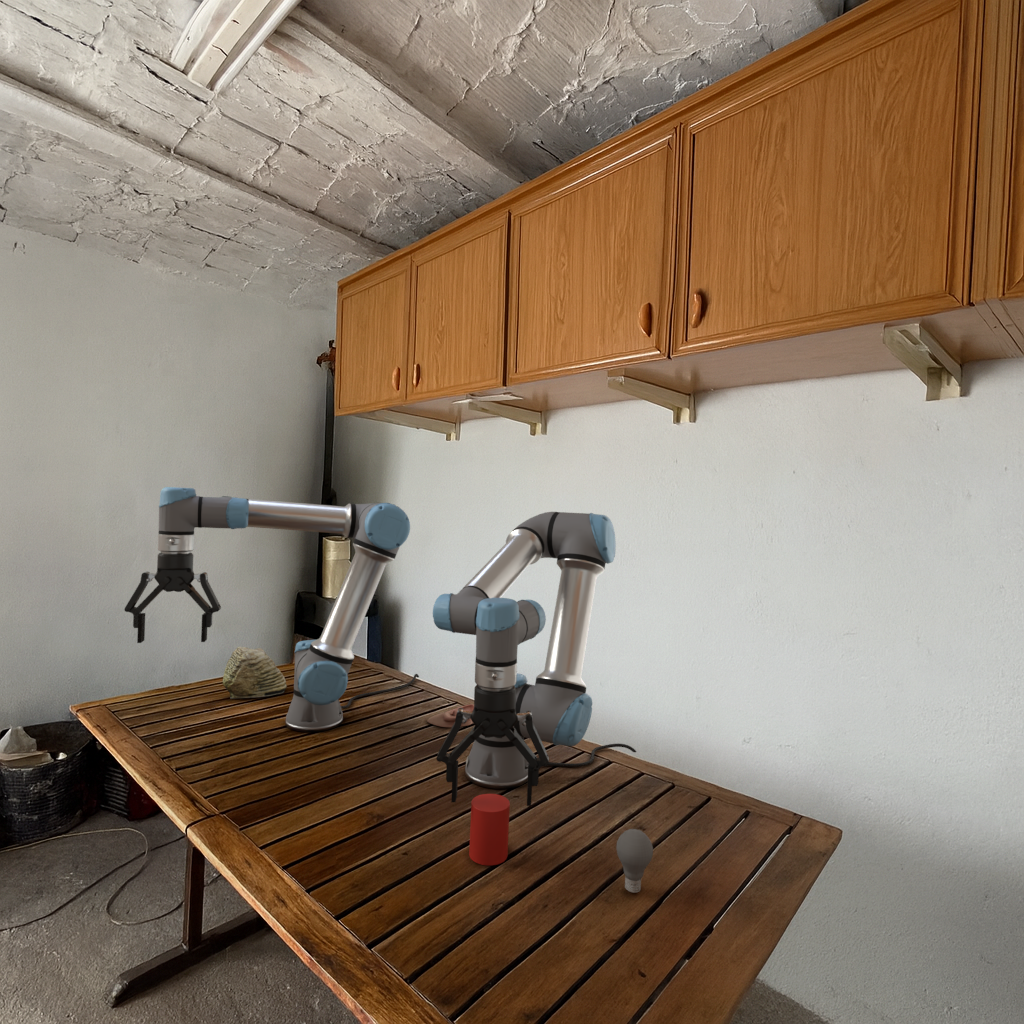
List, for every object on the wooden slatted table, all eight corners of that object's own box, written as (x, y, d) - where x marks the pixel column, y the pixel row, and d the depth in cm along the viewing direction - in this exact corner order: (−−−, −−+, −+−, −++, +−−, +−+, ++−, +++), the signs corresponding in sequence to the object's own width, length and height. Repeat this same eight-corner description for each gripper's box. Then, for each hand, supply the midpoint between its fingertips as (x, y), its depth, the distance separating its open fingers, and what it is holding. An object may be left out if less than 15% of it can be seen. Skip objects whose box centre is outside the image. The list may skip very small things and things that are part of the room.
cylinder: (511, 848, 117) (513, 796, 117) (501, 868, 111) (504, 814, 110) (475, 841, 119) (478, 791, 119) (464, 861, 112) (466, 808, 112)
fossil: (218, 695, 195) (220, 647, 195) (278, 685, 208) (279, 640, 207) (228, 703, 189) (230, 653, 188) (289, 692, 201) (290, 645, 201)
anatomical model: (423, 710, 178) (436, 698, 189) (423, 725, 178) (436, 711, 189) (469, 716, 175) (479, 703, 186) (468, 730, 175) (479, 716, 186)
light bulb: (610, 879, 108) (613, 822, 108) (644, 879, 109) (647, 822, 109) (619, 902, 102) (622, 840, 102) (655, 901, 103) (658, 840, 103)
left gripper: (110, 552, 143) (107, 645, 144) (229, 554, 150) (226, 643, 150) (122, 549, 151) (119, 638, 151) (235, 551, 157) (232, 637, 157)
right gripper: (423, 688, 111) (419, 807, 112) (565, 694, 110) (561, 814, 111) (429, 676, 118) (426, 787, 119) (563, 681, 118) (559, 793, 118)
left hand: (172, 641), depth 151 cm, fingers open, 13 cm apart
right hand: (491, 800), depth 115 cm, fingers open, 13 cm apart
